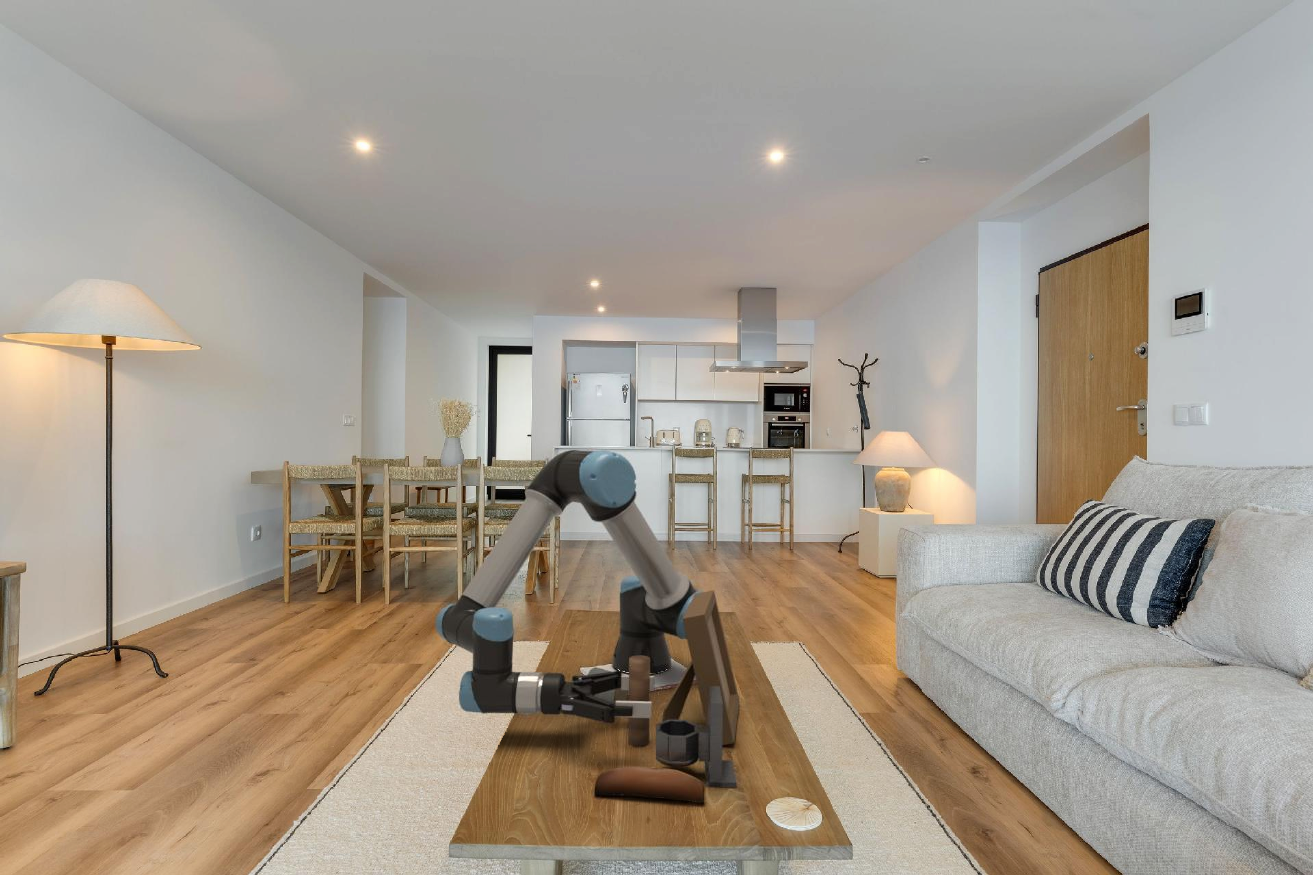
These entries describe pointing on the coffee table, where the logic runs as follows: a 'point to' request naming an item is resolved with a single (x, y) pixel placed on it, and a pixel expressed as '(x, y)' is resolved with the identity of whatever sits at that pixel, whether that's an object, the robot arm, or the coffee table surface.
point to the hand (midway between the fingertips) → (652, 695)
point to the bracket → (697, 743)
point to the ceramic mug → (612, 694)
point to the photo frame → (706, 664)
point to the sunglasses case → (650, 783)
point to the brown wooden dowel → (639, 698)
